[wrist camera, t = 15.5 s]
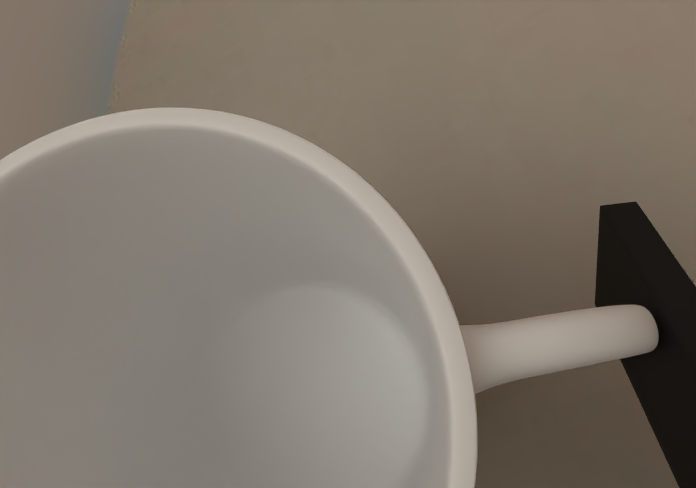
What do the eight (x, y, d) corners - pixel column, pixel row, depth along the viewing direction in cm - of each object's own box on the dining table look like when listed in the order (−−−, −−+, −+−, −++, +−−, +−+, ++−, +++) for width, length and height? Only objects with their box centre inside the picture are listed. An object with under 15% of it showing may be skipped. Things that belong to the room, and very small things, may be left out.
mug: (551, 229, 19) (722, -3, 8) (604, 536, 17) (935, 836, 6) (173, 275, 21) (-166, 135, 9) (184, 564, 19) (-230, 858, 7)
